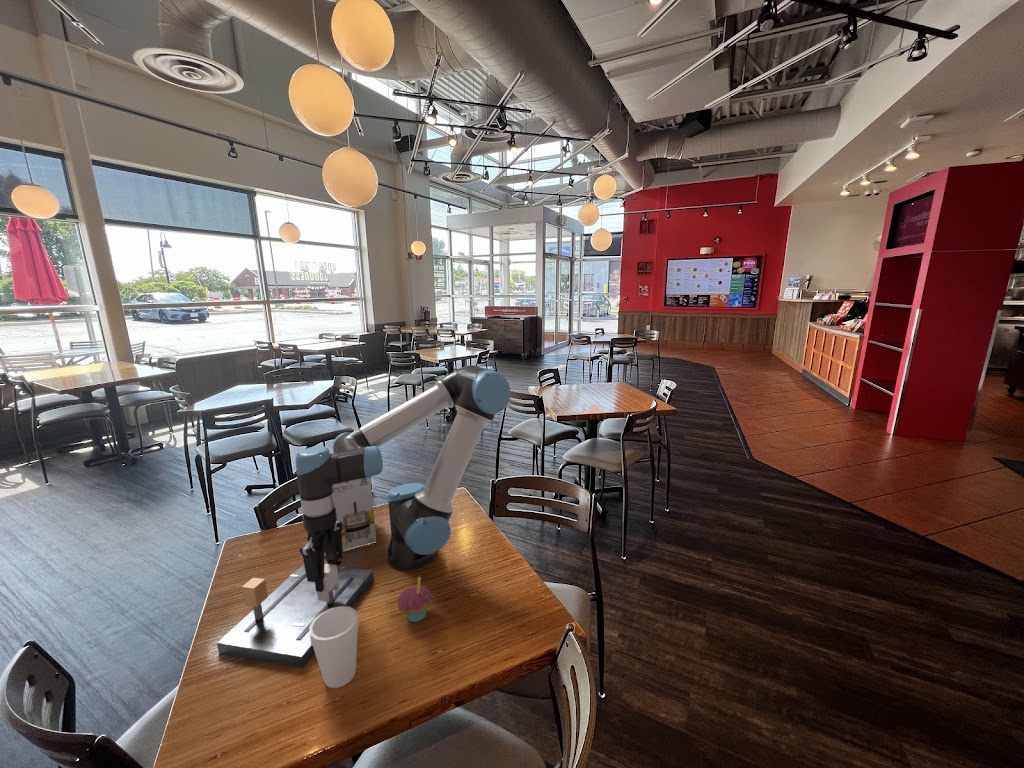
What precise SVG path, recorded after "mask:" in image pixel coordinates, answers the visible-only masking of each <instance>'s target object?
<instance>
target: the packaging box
mask: <svg viewBox="0 0 1024 768" xmlns="http://www.w3.org/2000/svg"><path fill="white" fill-rule="evenodd" d="M371 477H372V476H371ZM371 477H369V478H362V479H357V480H353V481H348V482H343V483H339V484H334V485H333V489H334V496H335V504H336V505H335V508H336V515H337V521H338V522H342V530H341V533H342V548H343V550H346V549H349V548H353V547H357V546H361V545H365V544H368V543H372V542H376V541H377V531H376V522H375V520H376V519H375V512H374V511H375V510H374V502H373V501H374V500H373V488H372V480H371V479H372V478H371ZM324 555H326V554H325V552H324Z"/></svg>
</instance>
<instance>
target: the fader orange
mask: <svg viewBox="0 0 1024 768" xmlns="http://www.w3.org/2000/svg"><path fill="white" fill-rule="evenodd" d="M266 583H267V582H266V579H265V578H259V577H252V578H251V579H249V580H248V581H247V582H246V583H244V585H243V584H242V586H241V592H242V597H243V604H244V605H245V606H248V607H253V608H252V609H253V610H254V616H255V620H260V619H261V618H262V617H263V612H262V606H261V603H262V602H263V601H264V600H265V599H266V598H267V597H268V596H269V595H268V590H267V584H266ZM253 610H252V611H253Z"/></svg>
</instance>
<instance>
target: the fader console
mask: <svg viewBox="0 0 1024 768" xmlns="http://www.w3.org/2000/svg"><path fill="white" fill-rule="evenodd" d="M338 571H339V574H338V578H339V587H340V589H339V590H338V591H337V590H333V599H334V601H333V602H332V603H331V604H327V602H325V601H318V594H317V591H316V587H315V582H308V581H307V576H306V571H305V566H304V564H302V565H301V566H300V567H299V568H298V569H297V570H295V572H294V573H292V574H290V575H289V577H288V578H287V579H285V581H283V583H281V584H280V585H279V586H278V587H277V588H275V589H274V590H273V592H271V593H270V594H269V595H268V597H267V598H266V599H265V600H264V601H263V602H262V603H261V606H262V612H263V617H262V618H261V619H260V620H255V616H254V610H252V611H250V612H249V613H248V614H247V615H246V616H245V617H244V618H242V619H241V621H239V622H238V623H237V624H236V625H235V626H233V627H232V628H231V629H230V630H229V631H228V632H227V633H225V634H224V635H223V637H222V638H221V639H220V640H218V641H217V643H216V646H217V649H218V651H217V652H218V655H223V656H228V657H235V658H240V659H246V660H251V661H258V662H264V663H270V664H275V665H280V666H281V665H282V666H286V667H293V668H299V669H304V668H306V666H307V664H308V663H309V662H310V661H311V659H312V658H313V657H314V656H315V655H316V654H315V651H314V648H313V646H312V645H311V639H310V632H309V627H310V625H311V623H312V621H313V620H314V619H315V618H316V617H317V616H318V615H320V614H321V613H323V612H325V611H326V610H328V609H330V608H335V607H339V606H346V607H351V608H353V607H354V605H355V604H356V602H358V601H359V600H360V598H361V597H362V595H363V594H364V593H365V591H367V589H368V588H369V586H370V585H371V584H372V583H373V581H374V579H375V578H374V571H373V570H371V569H363V568H355V567H346V566H345V567H344V566H338ZM371 582H372V583H371Z"/></svg>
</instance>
